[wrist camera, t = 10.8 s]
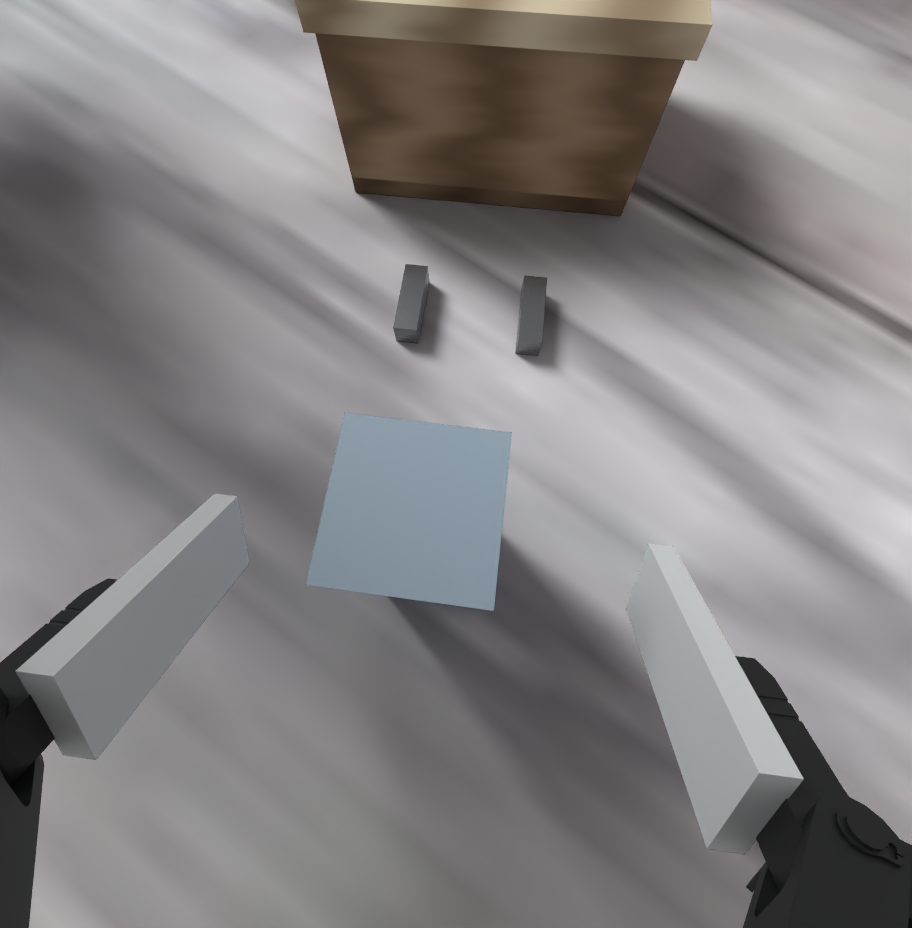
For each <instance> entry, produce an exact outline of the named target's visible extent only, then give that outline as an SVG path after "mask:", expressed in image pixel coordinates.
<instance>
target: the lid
mask: <svg viewBox="0 0 912 928" xmlns="http://www.w3.org/2000/svg"><path fill="white" fill-rule="evenodd" d="M295 2H296V6H297V10H298V13H299V17H300V21H301V24H302V28H303V32H306V33H319V34H333V35H347V36H361V37H375V38H389V39H403V40H416V41H430V42H444V43H458V44H472V45H486V46H500V47H513V48H527V49H541V50H555V51H569V52H583V53H597V54H610V55H624V56H638V57H652V58H666V59H680V60H694V61H697V59H698V57H699V55H700V52H701V50H702V48H703V46H704V43H705V41H706V39H707V36H708V34H709V32H710V29H711V27H712V11H711V0H295Z"/></svg>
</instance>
